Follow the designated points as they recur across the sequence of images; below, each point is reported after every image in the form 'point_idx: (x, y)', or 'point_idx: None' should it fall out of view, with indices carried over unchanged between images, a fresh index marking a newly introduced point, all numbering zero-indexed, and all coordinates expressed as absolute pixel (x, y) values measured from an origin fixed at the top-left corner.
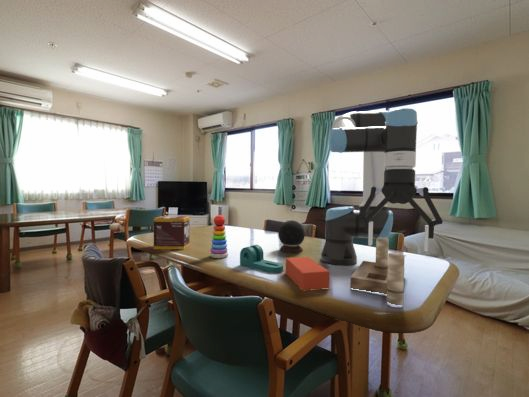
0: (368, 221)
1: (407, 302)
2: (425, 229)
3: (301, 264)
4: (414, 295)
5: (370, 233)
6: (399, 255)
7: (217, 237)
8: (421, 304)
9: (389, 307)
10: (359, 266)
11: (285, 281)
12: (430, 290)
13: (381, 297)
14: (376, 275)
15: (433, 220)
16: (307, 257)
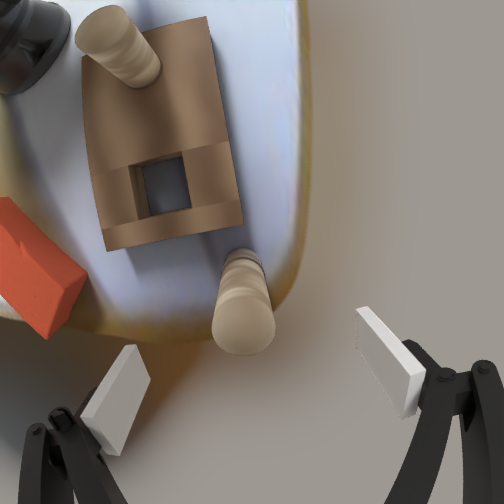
0: (96, 447)
1: (264, 226)
2: (395, 408)
3: (5, 281)
4: (268, 160)
5: (132, 415)
6: (257, 335)
7: None
8: (295, 216)
9: None
10: (85, 123)
11: None
12: (296, 92)
13: (201, 238)
14: (151, 159)
15: (453, 412)
16: None
